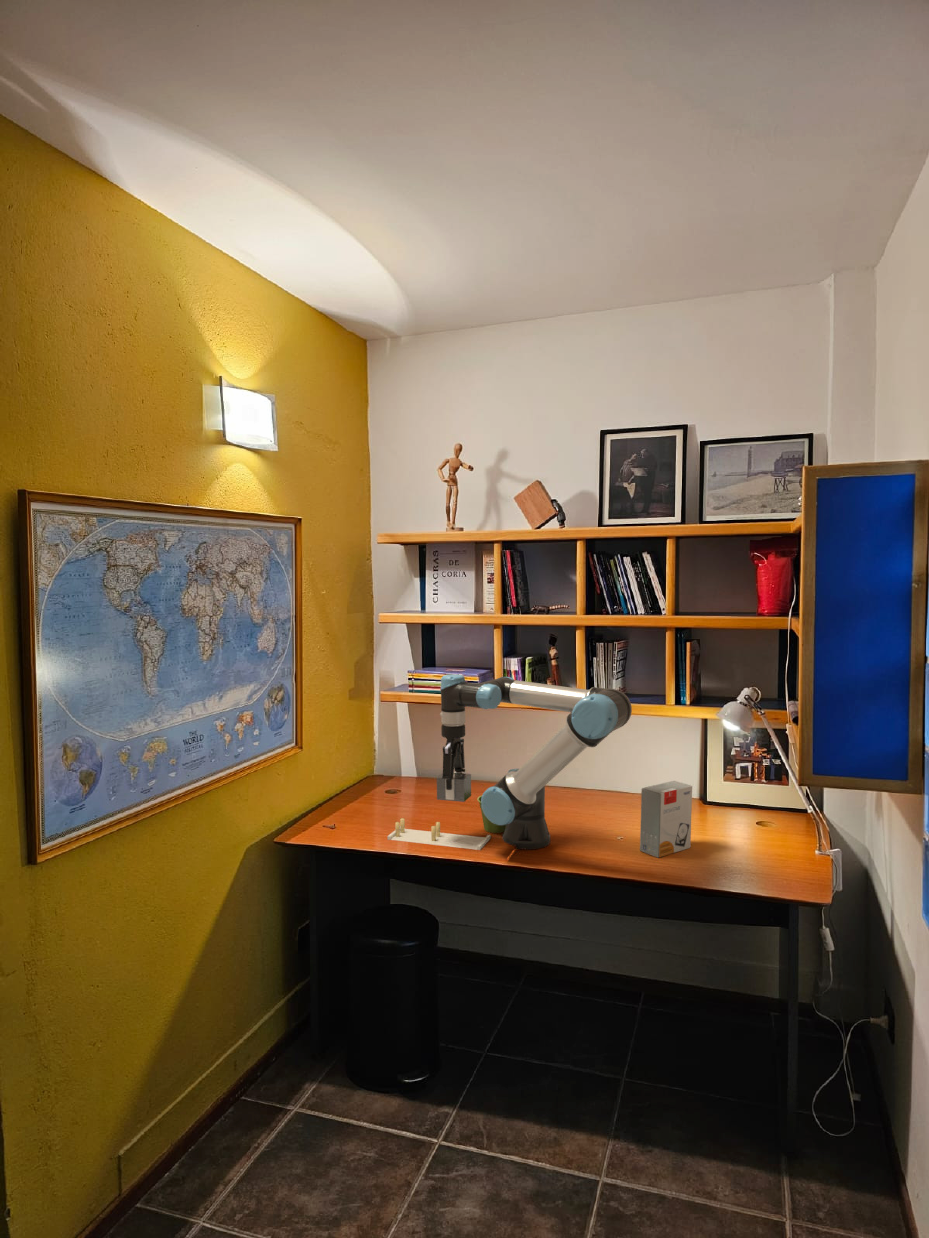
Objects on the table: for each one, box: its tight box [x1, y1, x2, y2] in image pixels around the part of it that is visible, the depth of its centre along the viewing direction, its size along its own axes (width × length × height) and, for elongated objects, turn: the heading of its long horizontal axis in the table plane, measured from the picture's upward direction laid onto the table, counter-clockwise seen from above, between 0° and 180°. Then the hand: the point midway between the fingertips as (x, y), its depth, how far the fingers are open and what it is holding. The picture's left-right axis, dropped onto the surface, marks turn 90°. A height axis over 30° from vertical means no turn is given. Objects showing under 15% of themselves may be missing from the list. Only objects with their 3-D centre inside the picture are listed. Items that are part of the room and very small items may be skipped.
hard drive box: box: [639, 780, 693, 858], centre depth 246 cm, size 16×8×20 cm, turn 126°
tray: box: [387, 817, 491, 851], centre depth 255 cm, size 31×11×6 cm, turn 71°
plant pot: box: [476, 795, 506, 834], centre depth 263 cm, size 12×12×11 cm
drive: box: [436, 772, 472, 803], centre depth 252 cm, size 9×7×7 cm
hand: (454, 795), depth 252 cm, fingers closed on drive, 7 cm apart
